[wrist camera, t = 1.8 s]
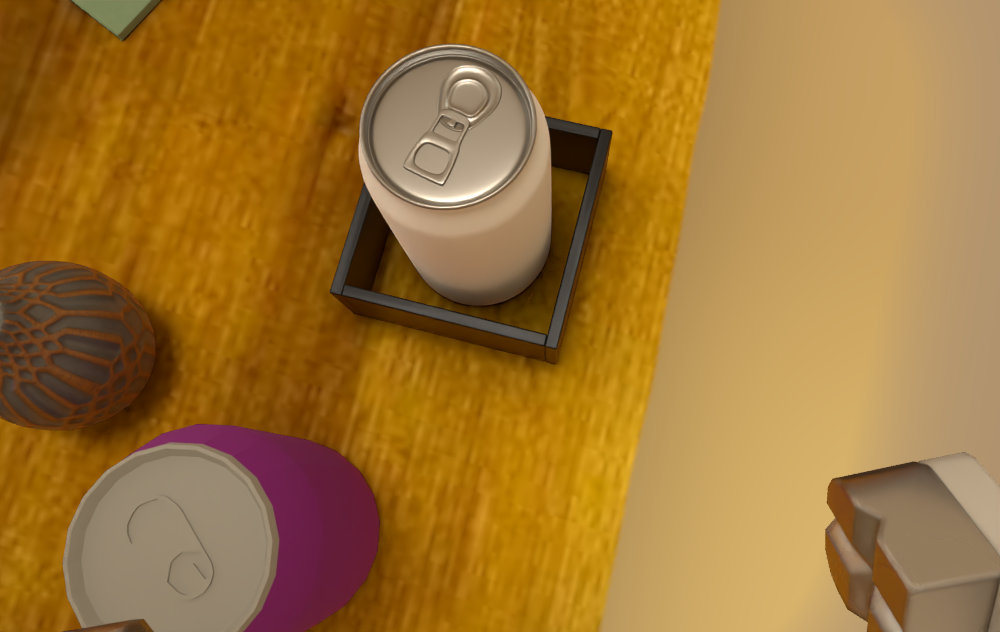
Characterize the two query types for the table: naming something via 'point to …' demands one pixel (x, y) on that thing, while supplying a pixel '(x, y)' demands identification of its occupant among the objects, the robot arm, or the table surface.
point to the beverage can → (221, 534)
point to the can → (460, 170)
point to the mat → (117, 13)
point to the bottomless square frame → (353, 289)
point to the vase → (69, 346)
